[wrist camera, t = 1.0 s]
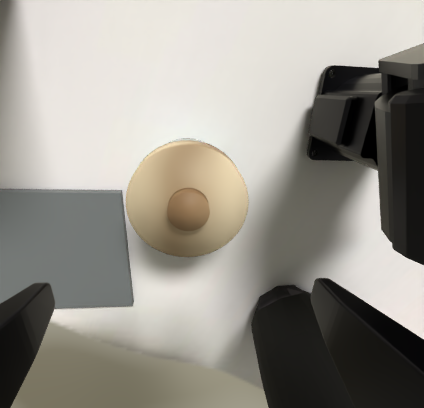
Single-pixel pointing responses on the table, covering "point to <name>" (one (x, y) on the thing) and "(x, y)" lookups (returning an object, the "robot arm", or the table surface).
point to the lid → (187, 199)
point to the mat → (65, 246)
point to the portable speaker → (295, 353)
